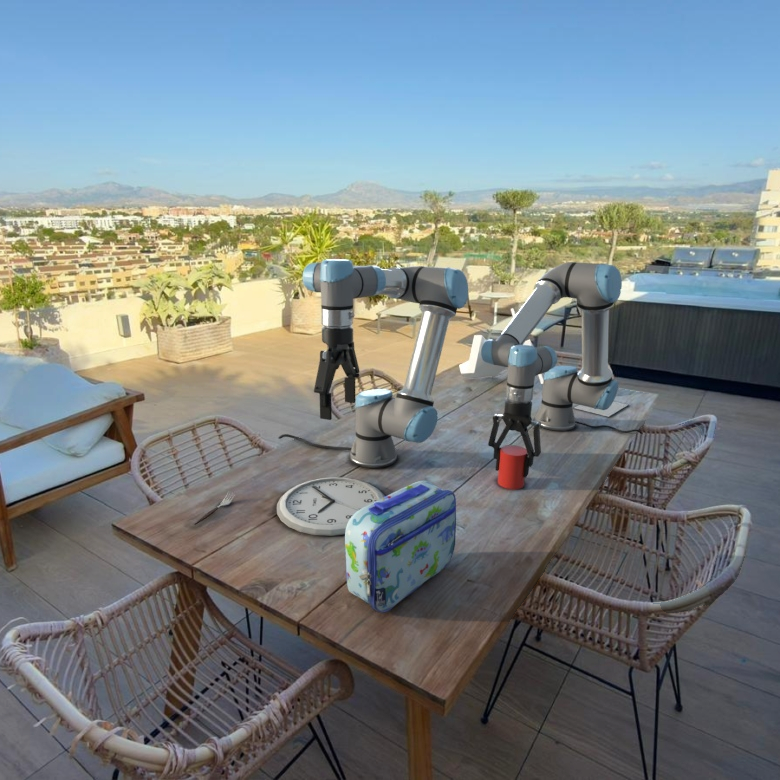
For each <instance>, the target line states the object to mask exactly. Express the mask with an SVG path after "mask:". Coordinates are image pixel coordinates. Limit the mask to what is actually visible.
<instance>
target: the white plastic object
mask: <svg viewBox="0 0 780 780" xmlns="http://www.w3.org/2000/svg"><path fill="white" fill-rule="evenodd" d="M510 312H511V316H512V319H513V318H514V317H515V315H516V314H517V312H516V311H515V309H514V307H512V308H510ZM486 340H487V338H485V337H484V335H482V334H474V335H473V340H472V342H471V343H472V344H471V348H470V353H469V358H468V360H467V361H465V362H463V363H460V364H459V365H458V367H459V371H460V374H461V376H462V377H463V379H464V380H469V379H479V378H487V377H491V378H492V379H493V378H496V377H498V376H501V375H502V374H501V373H502V372H503V371H505V370H506V369H508V367H504V366H499V365H493V364H490V363H487V362H485V361H484V360H483V359H482V356H481V349H482V346H483V344H484V342H485V341H486ZM523 345H529V346H533V347H534V343H532V341H531V339H530V338H529V339H527V340H526V341H525V342H524V344H523ZM537 376H538V379H539V382H540V384H541V386H542V387H543V381H544V380H543V379H544V373H542V374H539V375H537ZM533 393H535V387H534V389H533Z"/></svg>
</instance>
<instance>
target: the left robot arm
mask: <svg viewBox="0 0 780 780" xmlns="http://www.w3.org/2000/svg"><path fill="white" fill-rule="evenodd" d="M302 283H303V286H304V287H305V288H306V289H307V290H308V291H310V292H315V293H320V303H321V304H320V307H321V308H320V313H321V315H320V316H321V318H320V320H321V322H320V323H321V325H322V328H321V342H322V343H323V344H325V345H326V350H320V352H319V362H318V368H317V372H316V379H315V383H314V388H313V393H314V394H319V419H322V420H328V421H332V419H333V418H332V416H333V415H332V414H333V412H332V411H333V410H332V407H333V406H332V393H331V392H330V391H331V387H332V385H333V381H334V378H335V375H336V372H337V370H339V369H340V366H341V368H342V370H343V372H344V374H345V377H344V402H345V403H349V404H355V405H354V412H355V413H354V414H355V415H354V416H355V417H354V419H355V421H354V423H355V437H354V441H353V443H352V447H349V446H333V445H324V444H318V443H313V442H310V441H307V440H306V439H304V438H302V437H300V438H299V436H296V435H292V434H288V433H284V434H281V435H279V436H278V439H279V440H281V439H282V438H290V439H294V440H298V441H300V442H302V443H304V444H306V445H308V446H311V447H315V448H320V449H327V450H340V451H350V452H349V460H350V462H351V463H352V464H353V465H355V466H357V467H361V468H366V469H381V468H386V467H389V466H392V465H393V464H394V463H396V462H397V459H398V458H397V457H398V455H397V450H396V447H395V443H394V441H393V438H392V437H394V438H397V439H401V440H405V442H412V443H417V444H419V443H423V442H425V441H428V439H429V438H430V437H431V436H432V434H433V433H434V431H435V429H436V426H437V423H438V418H439V417H438V411H437V409H436V408H435V407H434V404H435V401H434V398H433V397H432V391H433V387H434V384H435V378H436V375H437V370H438V367H439V363H440V359H441V355H442V352H443V347H444V343H445V339H446V335H447V332H448V331H447V330H448V327H449V323H450V320H451V319H452V318H454V317H456V316H457V311H458V310H461V309H463V308H464V307H465V306H466V305H467V303H468V298H469V282H468V279H467V276H466V274H465V273H464V272H463V271H462V269H458V268H451V267H448V266H447V267H440V266H439V267H437V266H424V265H423V266H422V265H419V266H418V265H417V266H416V265H415V266H403V267H401V266H399V267H397V266H393V267H392V266H391V267H389V268H387V269H384V268H381V267H380V266H377V265H369V264H366V265H354V263H353V261H352V260H351V259H345V258H328V259H327V258H326V259H324V260H322V261H321V262H310V263H308V264H307V265H306V266H305V267H304V269H303V271H302ZM375 296H386V297H387V298H389V299H392V300H394V299H396V300H402V301H406V302H410V303H412V304H413V303H414V304H419V305H418V308H419V310H420V312H421V316H420V320H419V324H418V329H417V333H416V337H415V340H414V346H413V349H412V353H411V357H410V361H409V365H408V369H407V373H406V377H405V380H404V385H403V388H402V389H400V390H399V391H397V392H396V397H393V396H394V394H393V392H392V391H391V390H390V389H387V388H374V389H368V390H363V391H361V392H359V393H358V394H357V395H356V379H358V378H360V367H359V363H358V360H357V359H358V358H357V354H356V351H355V342H354V327H353V326H352V325H353V324H354V317H355V313H354V300H355V299H361V298H371V297H372V298H373V297H375Z"/></svg>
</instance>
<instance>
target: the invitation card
mask: <svg viewBox="0 0 780 780" xmlns="http://www.w3.org/2000/svg"><path fill="white" fill-rule="evenodd" d="M628 406H629V404H627V403H623V402H618V401H615V400H614V401H613V403H612V404H611V406H610V407H609V408H608V409H606V410H600V409H594V408H591V407H587V406H583V405H579V404H577V405H575V406H574V407H573V409H575V410H581V411H584V412H587V413H593V414H596V415H600V416H604V417H608V418H609V417H611V416H613V415H614V414H616V413H617V412H619V411H621V410H623V409H624V408H626V407H628Z"/></svg>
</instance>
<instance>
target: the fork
mask: <svg viewBox="0 0 780 780" xmlns="http://www.w3.org/2000/svg"><path fill="white" fill-rule="evenodd" d="M236 494H237V491H233V492H232V490H230V491H228V492H227V494H226V496H225V497H224V498H223V500H222V501H221V502H220V504H219V505H217V506H216V507H215V508H213V509H211V510H209V511H208V512H207V513H205V514H204V515H203V516H202V517H200V519H198V520H197V521H196V522H195V523H194V524H193V525H194V526H196V525H199V524H200V523H201V522H202V521H204V520H206V519H207V518H209V517H210V516H212V515H213V514H214V513H216V511H218V509H219V508H220V507H226V506H229V505H230V504H231V503H232V501H233V500H234V497H235V496H236Z"/></svg>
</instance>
